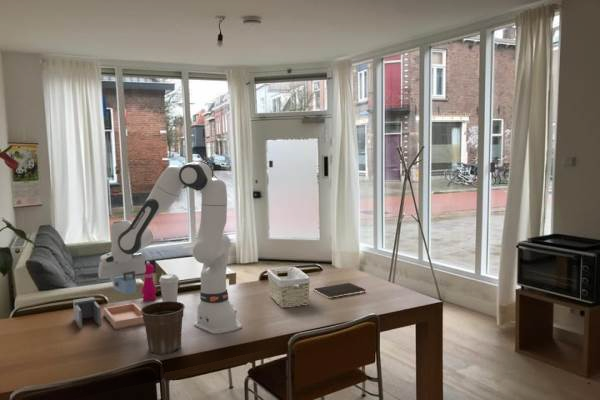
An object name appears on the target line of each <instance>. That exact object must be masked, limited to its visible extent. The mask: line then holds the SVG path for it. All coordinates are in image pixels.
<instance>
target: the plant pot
mask: <svg viewBox="0 0 600 400" xmlns="http://www.w3.org/2000/svg"><path fill="white" fill-rule="evenodd" d="M185 308H186V306H185V304H184V303H182V302H180V301H177V302H175V301H166V302H162V301H158V302H153V303H150V304H147V305H144V306H143V307H142V308H140V309H141V313H142V315H143V321H144V322H145V324H144V328H145V332H146V333H145V335H146V341H147V349H148V351H149V353H154V354H155V355H165V354H171V353H173V352H175V351H176V350H179V349H180V348H181V346H182V332H183V331H182V329H183V317H184V310H185Z"/></svg>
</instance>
